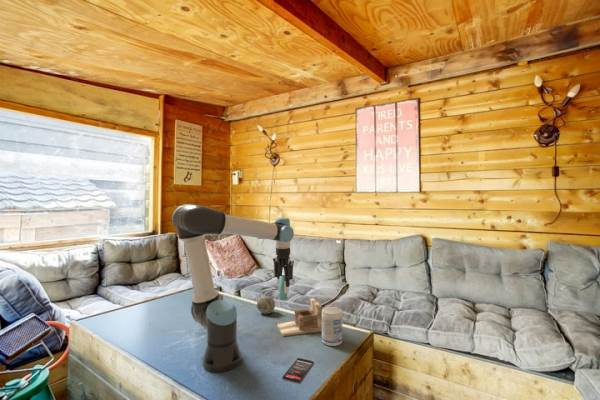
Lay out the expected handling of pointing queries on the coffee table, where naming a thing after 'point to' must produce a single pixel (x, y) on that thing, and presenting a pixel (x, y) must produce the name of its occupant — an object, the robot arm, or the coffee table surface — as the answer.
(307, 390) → the coffee table surface
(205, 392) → the coffee table surface
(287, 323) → the jig
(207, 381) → the coffee table surface
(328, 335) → the supplement tub
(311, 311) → the block
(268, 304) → the decorative stone
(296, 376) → the smartphone
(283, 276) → the dowel
